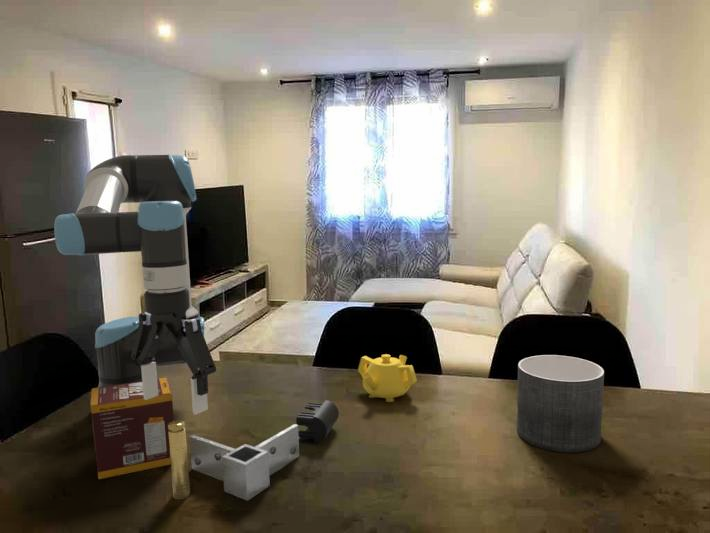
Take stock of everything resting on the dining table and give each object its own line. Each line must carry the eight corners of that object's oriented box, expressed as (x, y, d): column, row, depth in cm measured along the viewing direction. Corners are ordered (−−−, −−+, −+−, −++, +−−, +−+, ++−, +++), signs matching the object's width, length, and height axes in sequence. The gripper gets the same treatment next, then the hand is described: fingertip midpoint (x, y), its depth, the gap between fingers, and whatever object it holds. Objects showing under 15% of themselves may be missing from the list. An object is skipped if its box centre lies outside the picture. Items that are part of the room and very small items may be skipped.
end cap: (327, 447, 123) (326, 418, 122) (296, 444, 124) (295, 415, 123) (339, 428, 132) (338, 400, 131) (310, 425, 134) (309, 398, 133)
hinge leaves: (181, 474, 112) (179, 441, 111) (246, 439, 127) (244, 409, 126) (247, 500, 103) (245, 464, 101) (308, 459, 117) (307, 427, 116)
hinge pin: (169, 496, 105) (164, 425, 103) (182, 488, 107) (177, 419, 105) (180, 501, 103) (175, 428, 101) (193, 493, 105) (188, 422, 103)
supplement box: (97, 457, 120) (91, 387, 118) (172, 442, 126) (167, 376, 124) (96, 480, 111) (89, 405, 109) (177, 463, 117) (172, 391, 115)
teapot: (379, 378, 165) (378, 341, 163) (433, 390, 154) (433, 350, 153) (337, 400, 149) (336, 359, 147) (395, 415, 138) (394, 371, 137)
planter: (613, 432, 126) (616, 365, 124) (582, 462, 114) (585, 388, 111) (537, 412, 139) (539, 350, 136) (502, 436, 126) (503, 369, 123)
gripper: (105, 287, 103) (115, 398, 106) (197, 298, 89) (206, 426, 92) (140, 280, 109) (149, 386, 112) (232, 291, 95) (239, 410, 98)
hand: (174, 404), depth 102 cm, fingers open, 13 cm apart
